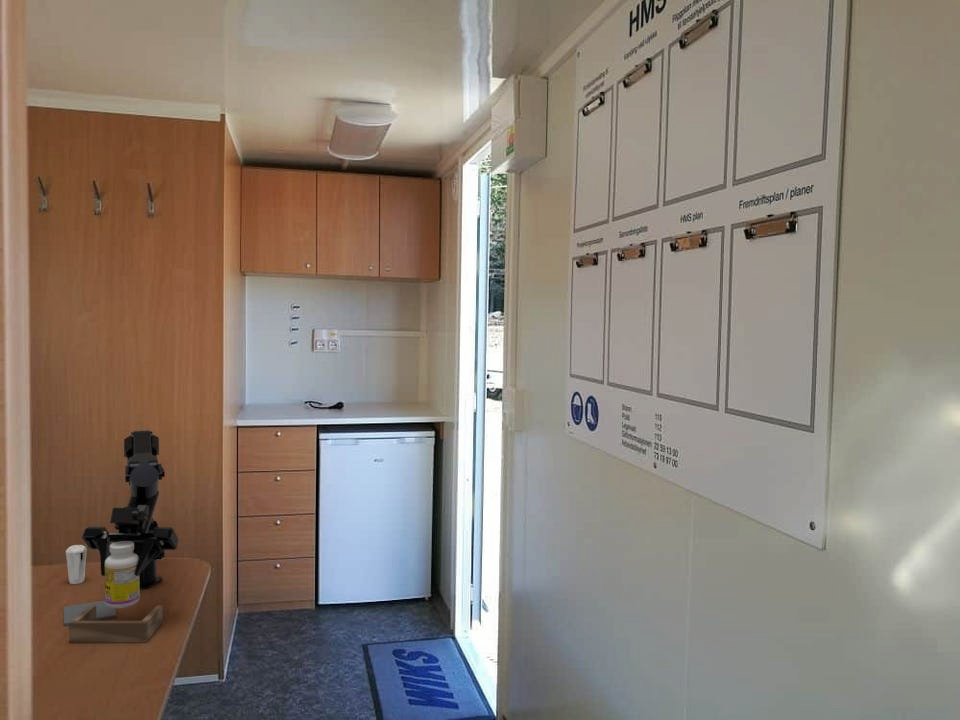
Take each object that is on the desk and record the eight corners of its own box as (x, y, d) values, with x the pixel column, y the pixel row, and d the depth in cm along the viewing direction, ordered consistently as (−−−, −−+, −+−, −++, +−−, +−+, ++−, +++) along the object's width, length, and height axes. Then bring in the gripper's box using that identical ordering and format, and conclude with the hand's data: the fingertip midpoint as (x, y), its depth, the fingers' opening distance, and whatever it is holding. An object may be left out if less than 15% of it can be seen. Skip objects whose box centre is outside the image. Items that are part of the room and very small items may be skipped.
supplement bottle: (106, 599, 158) (105, 541, 157) (140, 595, 161) (139, 538, 160) (103, 611, 152) (103, 550, 151) (139, 607, 155) (138, 547, 154)
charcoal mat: (63, 609, 165) (63, 606, 165) (112, 601, 170) (112, 599, 170) (64, 625, 157) (63, 623, 157) (116, 617, 162) (116, 614, 162)
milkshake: (80, 586, 179) (80, 546, 178) (61, 584, 180) (61, 544, 179) (94, 579, 183) (93, 540, 182) (75, 577, 184) (75, 538, 184)
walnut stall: (90, 623, 158) (90, 605, 158) (162, 623, 159) (162, 605, 159) (69, 642, 149) (69, 623, 149) (145, 642, 150) (145, 623, 150)
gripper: (85, 490, 158) (59, 557, 148) (173, 491, 159) (154, 558, 149) (102, 515, 166) (79, 581, 156) (186, 516, 168) (168, 581, 157)
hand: (119, 575), depth 154 cm, fingers closed on supplement bottle, 7 cm apart
